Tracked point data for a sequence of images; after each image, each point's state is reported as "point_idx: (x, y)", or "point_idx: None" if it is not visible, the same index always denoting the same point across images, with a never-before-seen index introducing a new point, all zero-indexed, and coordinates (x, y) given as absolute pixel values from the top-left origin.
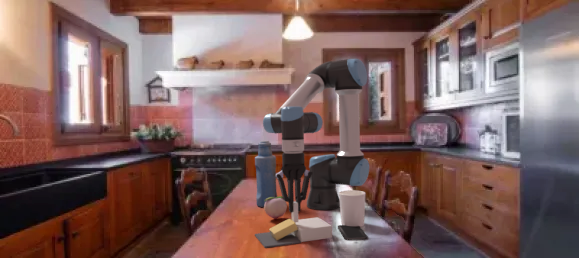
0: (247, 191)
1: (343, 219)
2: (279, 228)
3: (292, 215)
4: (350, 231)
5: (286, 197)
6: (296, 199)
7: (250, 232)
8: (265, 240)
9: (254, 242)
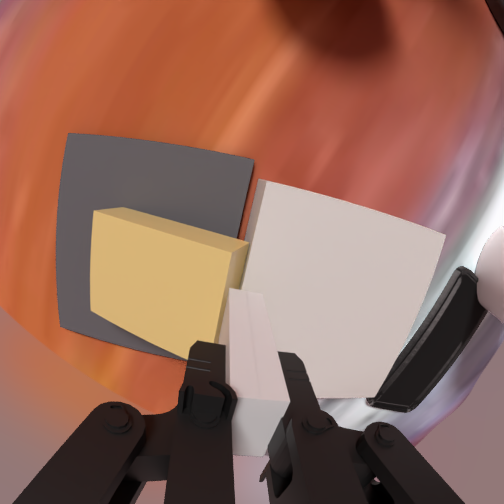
0: None
1: (493, 278)
2: (123, 299)
3: (224, 332)
4: (435, 350)
5: (116, 493)
6: (279, 458)
7: (80, 76)
8: (74, 263)
9: (41, 237)
